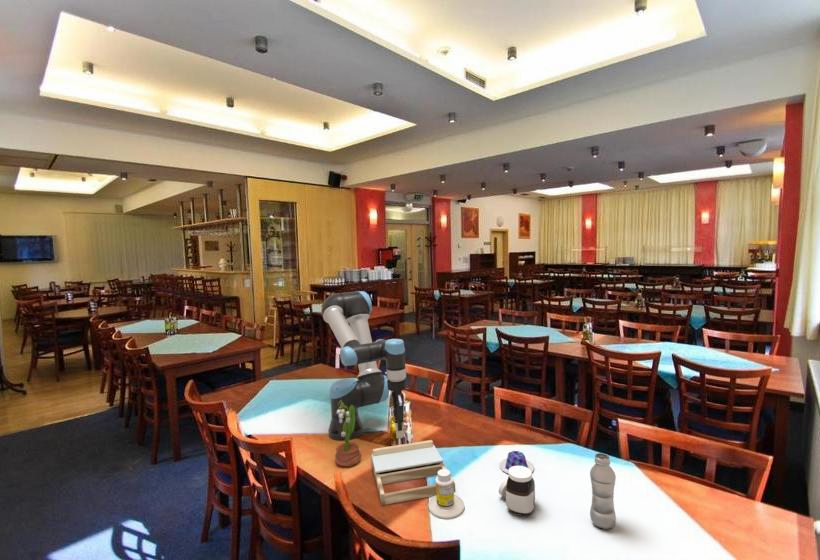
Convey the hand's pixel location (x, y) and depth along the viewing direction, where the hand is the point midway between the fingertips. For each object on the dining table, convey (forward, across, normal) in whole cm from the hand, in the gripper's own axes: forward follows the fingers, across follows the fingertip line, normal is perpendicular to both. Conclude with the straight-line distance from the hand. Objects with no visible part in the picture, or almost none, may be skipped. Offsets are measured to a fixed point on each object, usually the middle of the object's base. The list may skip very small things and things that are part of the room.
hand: (400, 437), depth 159 cm
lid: (+3, +12, 0) cm, 12 cm away
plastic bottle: (+7, +58, +47) cm, 75 cm away
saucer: (+7, +38, +7) cm, 39 cm away
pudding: (+7, +24, +38) cm, 45 cm away
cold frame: (+6, +18, 0) cm, 19 cm away
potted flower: (+6, +2, -21) cm, 22 cm away
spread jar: (+7, +43, +28) cm, 51 cm away
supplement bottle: (+6, +38, +7) cm, 39 cm away
